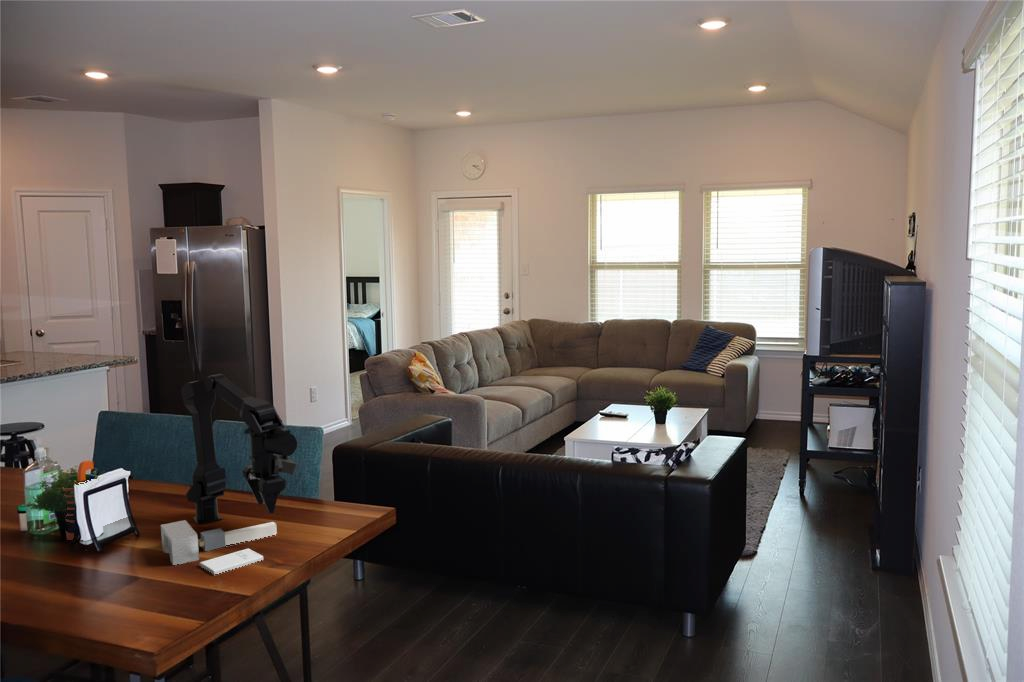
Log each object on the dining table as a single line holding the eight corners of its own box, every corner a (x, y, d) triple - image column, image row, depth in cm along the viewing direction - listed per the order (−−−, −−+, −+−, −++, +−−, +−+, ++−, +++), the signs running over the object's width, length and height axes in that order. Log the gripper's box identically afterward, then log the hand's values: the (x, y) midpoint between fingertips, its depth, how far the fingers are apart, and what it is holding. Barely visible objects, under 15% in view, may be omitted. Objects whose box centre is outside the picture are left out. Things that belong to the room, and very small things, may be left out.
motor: (57, 538, 216) (50, 465, 214) (88, 527, 224) (81, 457, 222) (81, 543, 212) (74, 469, 209) (112, 532, 219) (105, 460, 217)
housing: (162, 549, 206) (160, 525, 205) (187, 544, 209) (185, 520, 208) (173, 565, 195) (171, 539, 194) (199, 559, 199) (197, 534, 198)
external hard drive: (199, 568, 195) (248, 553, 203) (214, 577, 189) (263, 561, 198) (199, 561, 195) (247, 547, 203) (214, 570, 189) (263, 555, 197)
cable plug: (273, 531, 217) (272, 517, 217) (277, 535, 214) (277, 521, 213) (197, 548, 206) (196, 533, 206) (201, 553, 203) (200, 537, 203)
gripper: (304, 453, 208) (307, 511, 210) (281, 439, 224) (284, 494, 226) (261, 460, 202) (265, 520, 204) (240, 446, 218) (244, 502, 220)
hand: (266, 508), depth 214 cm, fingers open, 9 cm apart
